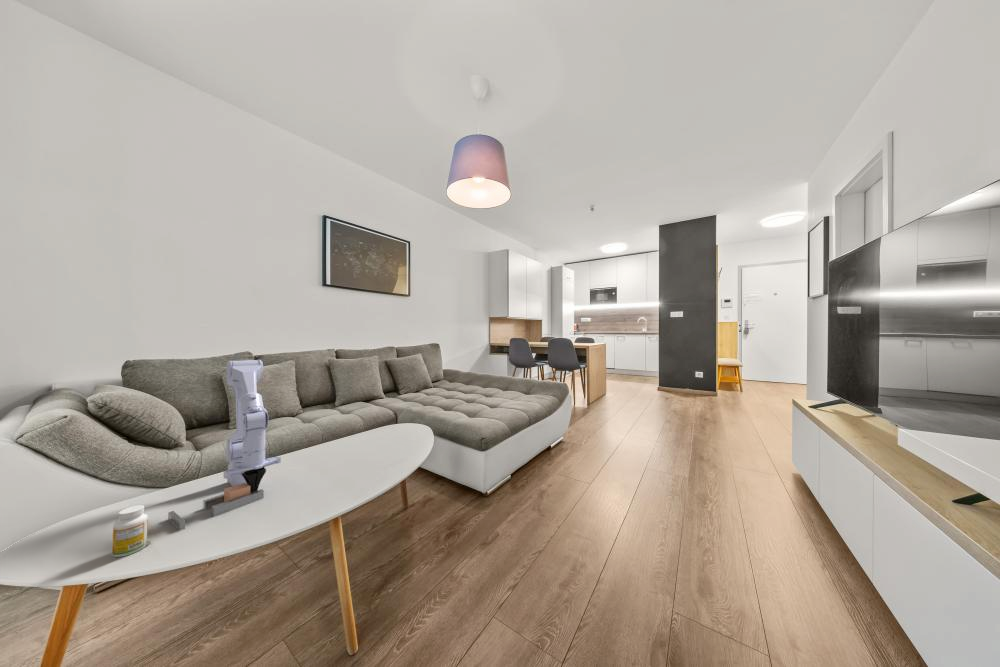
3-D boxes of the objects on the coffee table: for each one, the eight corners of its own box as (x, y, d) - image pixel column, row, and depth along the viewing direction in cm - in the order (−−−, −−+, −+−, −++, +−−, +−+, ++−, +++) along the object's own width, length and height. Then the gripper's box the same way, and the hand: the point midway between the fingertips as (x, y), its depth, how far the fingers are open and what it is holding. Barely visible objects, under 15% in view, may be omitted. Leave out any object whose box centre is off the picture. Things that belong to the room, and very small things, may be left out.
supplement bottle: (123, 545, 76) (125, 505, 76) (152, 540, 78) (154, 501, 78) (105, 560, 71) (106, 517, 71) (136, 554, 73) (138, 512, 73)
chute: (167, 523, 85) (168, 510, 85) (261, 490, 104) (261, 480, 104) (179, 534, 80) (179, 521, 80) (275, 498, 99) (275, 487, 99)
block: (223, 504, 93) (224, 488, 93) (244, 496, 98) (244, 482, 98) (229, 507, 91) (230, 492, 91) (250, 500, 95) (250, 485, 95)
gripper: (230, 459, 90) (229, 506, 90) (285, 445, 103) (284, 486, 102) (221, 455, 94) (220, 500, 93) (275, 442, 106) (274, 481, 106)
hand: (253, 493), depth 98 cm, fingers closed
